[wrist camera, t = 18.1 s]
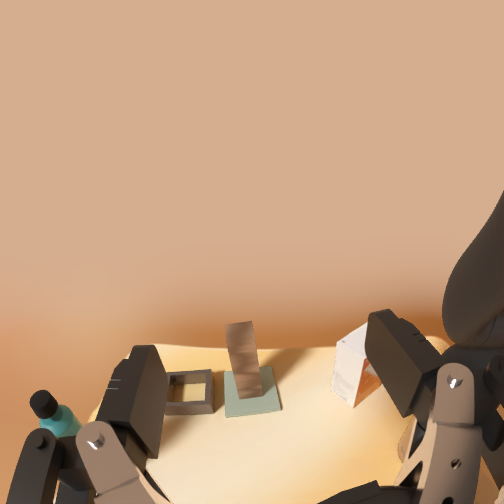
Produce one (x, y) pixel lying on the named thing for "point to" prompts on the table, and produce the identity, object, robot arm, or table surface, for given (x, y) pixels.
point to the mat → (251, 405)
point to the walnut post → (244, 359)
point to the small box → (353, 369)
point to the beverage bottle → (54, 415)
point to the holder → (191, 406)
